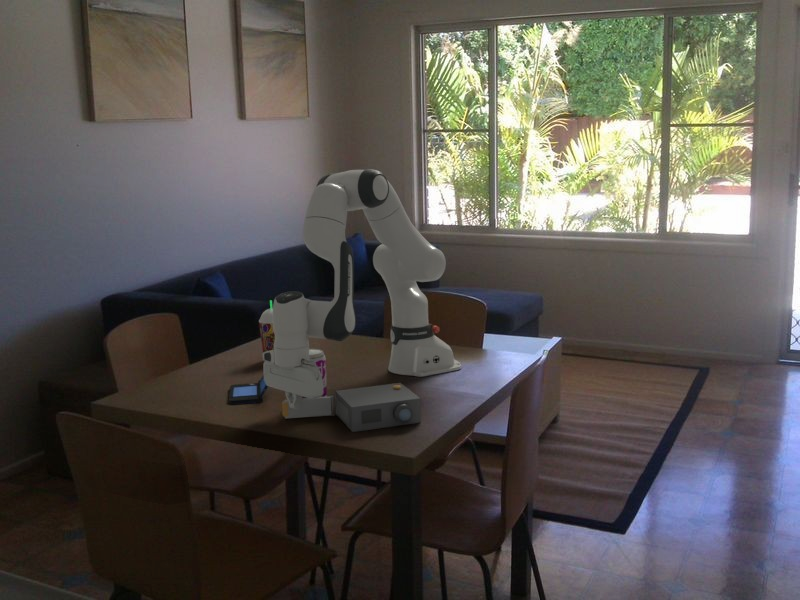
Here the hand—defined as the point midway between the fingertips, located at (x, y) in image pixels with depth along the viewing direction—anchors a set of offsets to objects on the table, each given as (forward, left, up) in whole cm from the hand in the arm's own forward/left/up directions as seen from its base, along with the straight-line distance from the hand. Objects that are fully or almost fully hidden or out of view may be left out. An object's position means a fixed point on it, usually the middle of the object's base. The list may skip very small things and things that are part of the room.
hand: (294, 408), depth 230 cm
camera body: (-20, +8, -3) cm, 22 cm away
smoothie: (-7, -62, -3) cm, 62 cm away
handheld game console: (+6, -27, -4) cm, 28 cm away
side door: (-4, -1, -3) cm, 5 cm away
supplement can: (-7, -11, -4) cm, 13 cm away
